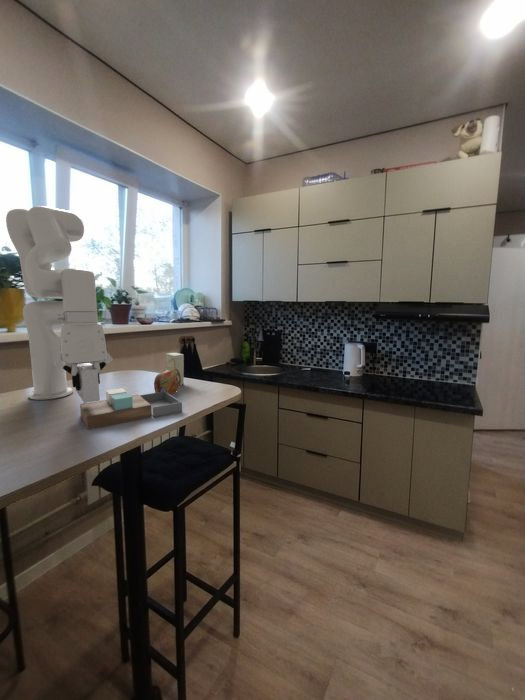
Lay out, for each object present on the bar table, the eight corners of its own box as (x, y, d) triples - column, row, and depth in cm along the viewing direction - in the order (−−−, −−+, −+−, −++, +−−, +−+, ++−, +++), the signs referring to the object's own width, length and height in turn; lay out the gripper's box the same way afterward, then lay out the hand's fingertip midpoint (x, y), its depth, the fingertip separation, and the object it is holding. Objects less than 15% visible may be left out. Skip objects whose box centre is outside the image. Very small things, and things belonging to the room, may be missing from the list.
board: (80, 415, 92) (79, 403, 91) (138, 405, 101) (138, 394, 101) (88, 429, 82) (87, 416, 82) (151, 416, 92) (151, 405, 91)
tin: (161, 401, 106) (160, 375, 105) (152, 400, 107) (151, 375, 106) (181, 388, 121) (181, 366, 119) (174, 388, 121) (173, 366, 120)
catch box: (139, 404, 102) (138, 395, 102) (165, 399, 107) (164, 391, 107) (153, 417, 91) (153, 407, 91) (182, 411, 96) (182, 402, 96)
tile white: (106, 400, 94) (106, 390, 94) (122, 397, 97) (122, 388, 97) (110, 404, 91) (109, 394, 90) (126, 401, 94) (126, 391, 93)
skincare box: (165, 383, 127) (164, 353, 125) (175, 381, 130) (175, 352, 128) (174, 387, 123) (173, 355, 121) (184, 384, 126) (184, 354, 124)
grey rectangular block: (84, 402, 79) (81, 370, 78) (75, 390, 91) (73, 362, 89) (99, 400, 82) (97, 369, 80) (89, 388, 93) (87, 361, 92)
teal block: (111, 405, 90) (110, 395, 89) (128, 403, 92) (127, 392, 92) (115, 410, 86) (114, 399, 86) (132, 407, 89) (132, 396, 88)
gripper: (43, 320, 75) (50, 396, 78) (119, 318, 85) (123, 386, 88) (41, 319, 81) (48, 390, 84) (112, 317, 91) (116, 381, 94)
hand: (86, 387), depth 86 cm, fingers closed on grey rectangular block, 3 cm apart
